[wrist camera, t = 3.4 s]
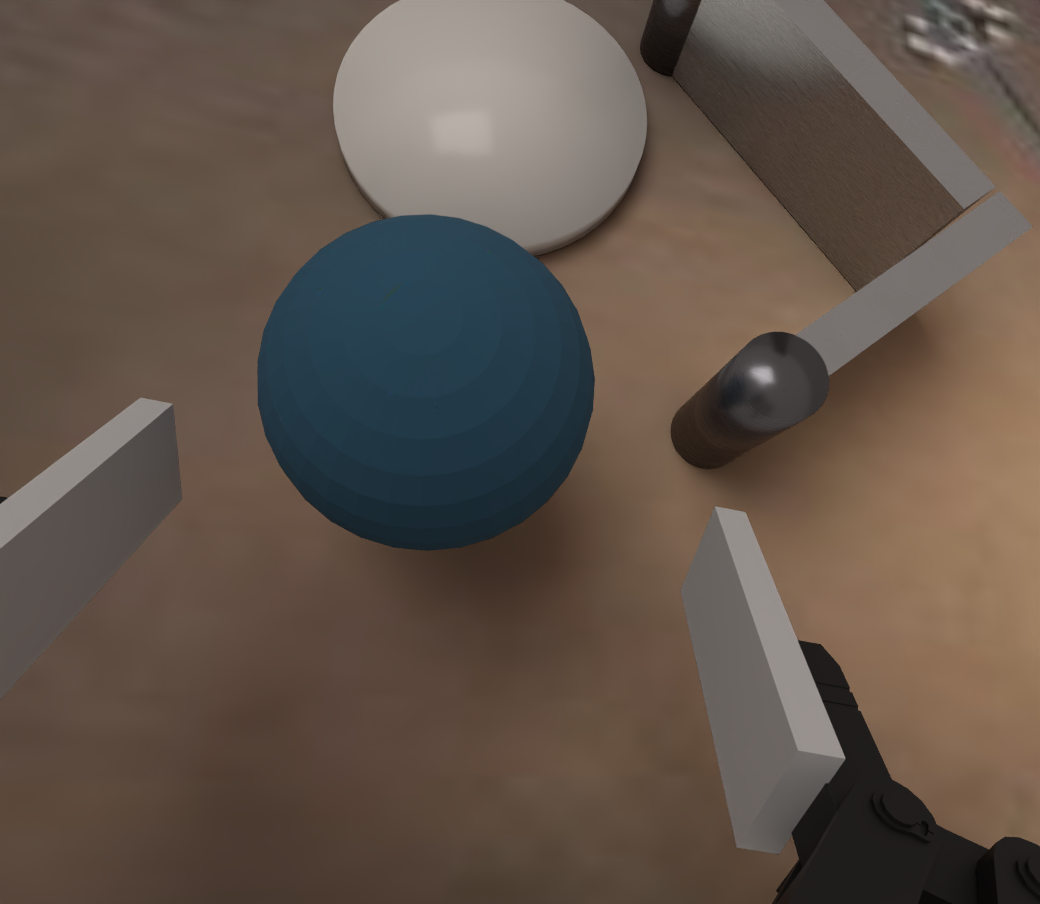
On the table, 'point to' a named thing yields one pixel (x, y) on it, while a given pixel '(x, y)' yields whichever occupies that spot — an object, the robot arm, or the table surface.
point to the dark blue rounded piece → (425, 382)
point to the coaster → (491, 116)
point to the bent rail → (822, 195)
